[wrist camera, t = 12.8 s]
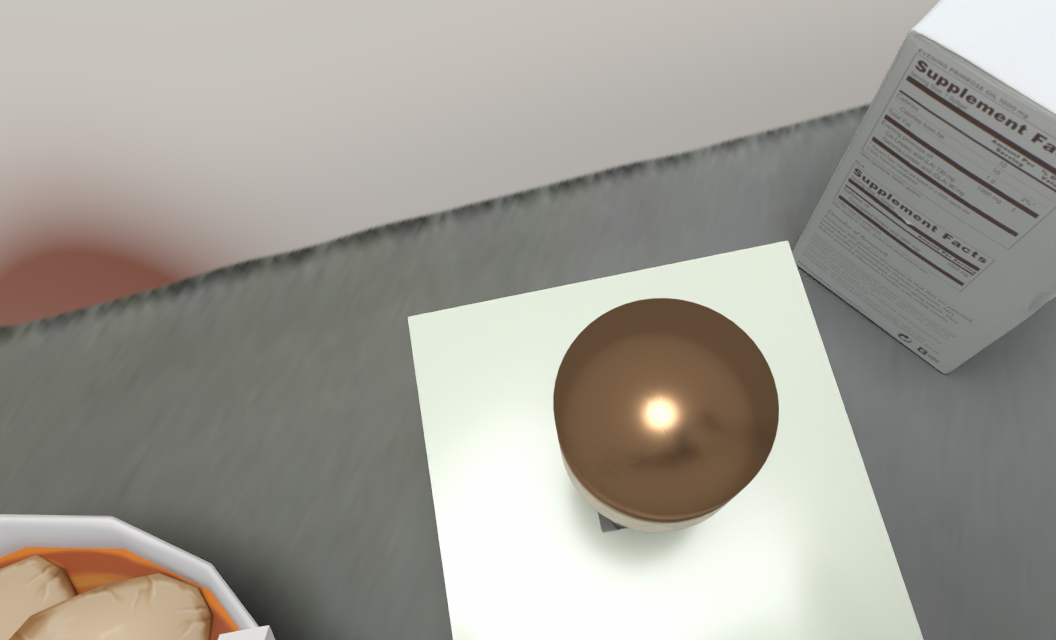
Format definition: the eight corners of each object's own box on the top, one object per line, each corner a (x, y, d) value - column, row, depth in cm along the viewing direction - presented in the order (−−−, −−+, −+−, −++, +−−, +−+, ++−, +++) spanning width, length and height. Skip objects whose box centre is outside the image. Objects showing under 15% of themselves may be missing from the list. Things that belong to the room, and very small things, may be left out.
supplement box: (896, 135, 42) (1079, -159, 26) (1059, 241, 39) (1374, -16, 23) (781, 261, 40) (905, 24, 24) (945, 382, 37) (1205, 204, 21)
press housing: (720, 372, 38) (787, 240, 25) (798, 642, 34) (928, 653, 21) (471, 422, 38) (407, 316, 25) (516, 698, 34) (468, 744, 21)
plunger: (706, 391, 35) (820, 158, 18) (768, 612, 32) (984, 598, 14) (499, 432, 35) (405, 241, 18) (538, 658, 32) (472, 700, 14)
